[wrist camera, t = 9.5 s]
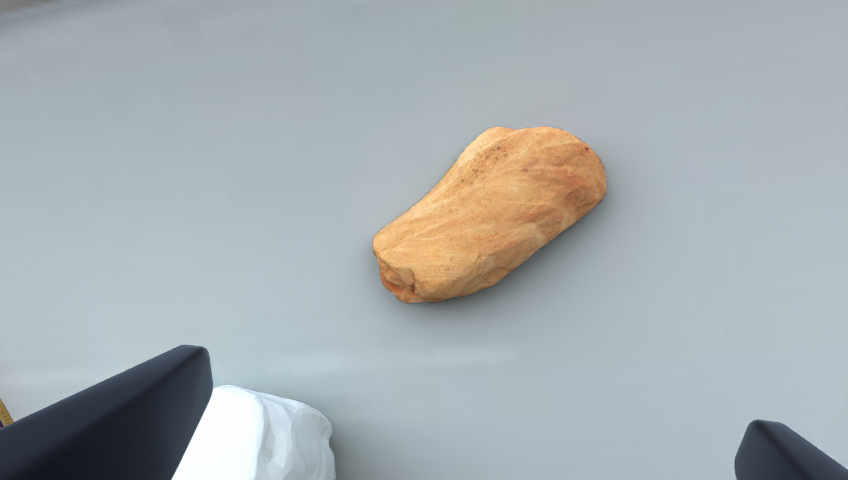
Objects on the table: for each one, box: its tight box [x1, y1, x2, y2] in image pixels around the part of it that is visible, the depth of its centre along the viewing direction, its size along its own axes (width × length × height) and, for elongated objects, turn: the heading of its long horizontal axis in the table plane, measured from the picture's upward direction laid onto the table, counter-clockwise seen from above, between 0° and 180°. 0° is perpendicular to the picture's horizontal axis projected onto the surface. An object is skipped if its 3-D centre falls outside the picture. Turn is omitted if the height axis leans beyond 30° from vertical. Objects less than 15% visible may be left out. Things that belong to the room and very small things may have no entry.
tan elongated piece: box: [372, 126, 606, 303], centre depth 16 cm, size 8×2×5 cm
